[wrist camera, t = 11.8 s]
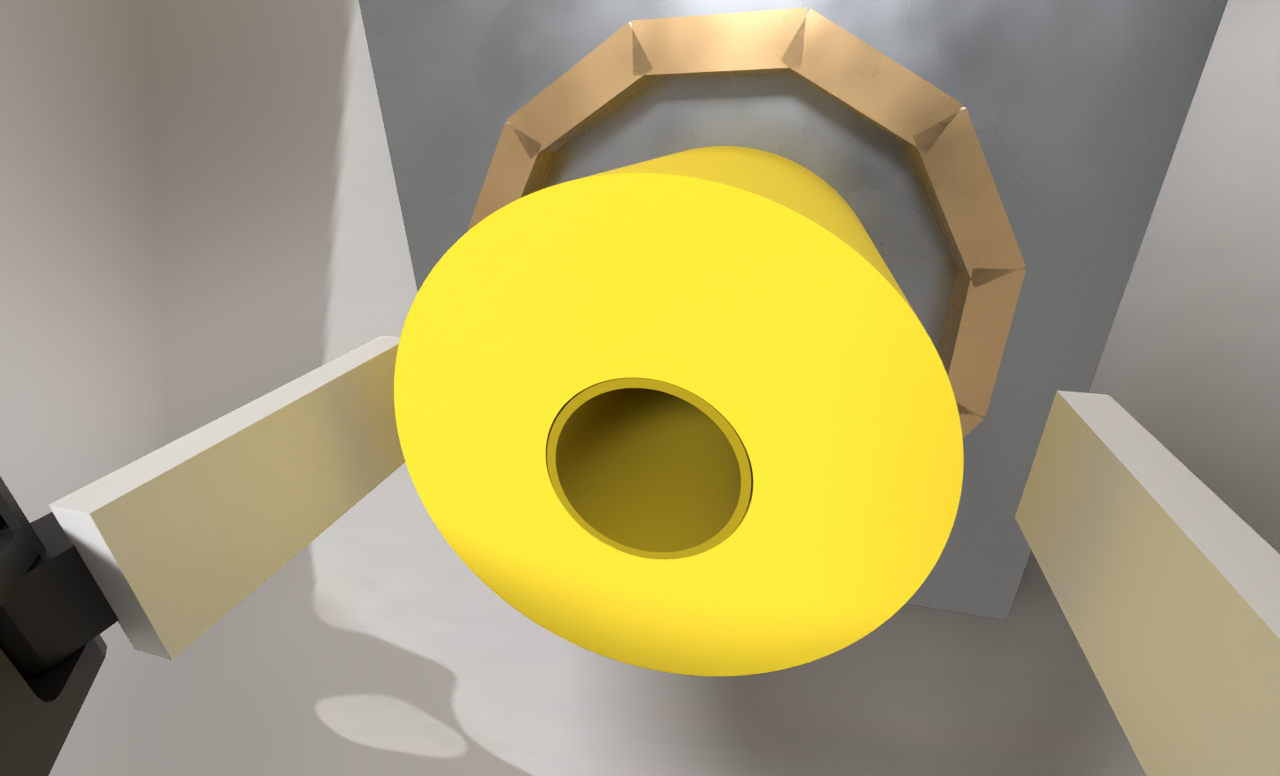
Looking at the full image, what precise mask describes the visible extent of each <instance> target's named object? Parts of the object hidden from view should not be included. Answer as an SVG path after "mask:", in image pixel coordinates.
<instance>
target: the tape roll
mask: <svg viewBox="0 0 1280 776" xmlns="http://www.w3.org/2000/svg"><path fill="white" fill-rule="evenodd" d="M394 406H395V416H396V424H397V430H398V435H399V440H400V444H401V448H402V452H403V455H404V458H405V462H406V465H407V468H408V470H409V473H410V476H411V478H412V481H413V483H414V485H415V488H416V490H417V492H418V494H419V496H420V498H421V500H422V502H423V504H424V506H425V508H426V510H427V511H428V513H429V515H430V516H431V518H432V520H433V521H434V523H435V525H436V526H437V528H438V529H439V531H440V532H441V534H442V535H443V536H444V538H445V539H446V541H447V542H448V543H449V545H450V546H451V547H452V548H453V550H454V551H455V552H456V553H457V555H458V556H459V557H460V558H461V559H462V560H463V562H464V563H465V564H466V565H467V566H468V567H469V568H470V569H471V570H472V571H473V572H474V573H475V574H476V575H477V576H478V577H479V578H480V579H481V580H482V581H483V582H484V583H485V584H486V585H487V586H488V587H489V588H490V589H491V590H493V591H494V592H495V593H496V594H497V595H498V596H500V597H501V598H502V599H503V600H504V601H506V602H507V603H508V604H510V605H511V606H512V607H514V608H515V609H516V610H518V611H519V612H520V613H522V614H523V615H525V616H526V617H528V618H529V619H531V620H532V621H534V622H535V623H537V624H539V625H540V626H542V627H544V628H545V629H547V630H549V631H550V632H552V633H554V634H556V635H558V636H560V637H562V638H564V639H565V640H567V641H570V642H572V643H574V644H576V645H578V646H580V647H583V648H585V649H587V650H590V651H592V652H595V653H597V654H600V655H603V656H605V657H608V658H611V659H614V660H617V661H620V662H624V663H627V664H631V665H635V666H639V667H643V668H647V669H652V670H657V671H662V672H668V673H675V674H684V675H695V676H741V675H752V674H760V673H767V672H773V671H778V670H782V669H787V668H791V667H795V666H798V665H802V664H805V663H808V662H811V661H814V660H817V659H820V658H822V657H825V656H827V655H830V654H832V653H834V652H837V651H839V650H841V649H843V648H845V647H847V646H849V645H851V644H852V643H854V642H856V641H858V640H859V639H861V638H863V637H864V636H866V635H867V634H869V633H870V632H872V631H873V630H875V629H876V628H878V627H879V626H880V625H882V624H883V623H884V622H885V621H887V620H888V619H889V618H890V617H891V616H893V615H894V614H895V613H896V612H897V611H898V610H899V609H900V608H901V607H902V606H903V605H904V604H905V603H906V602H907V601H908V600H909V599H910V598H911V597H912V596H913V595H914V593H915V592H916V591H917V590H918V589H919V587H920V586H921V585H922V583H923V582H924V581H925V579H926V578H927V577H928V575H929V574H930V572H931V571H932V569H933V567H934V566H935V564H936V562H937V561H938V559H939V557H940V555H941V553H942V551H943V549H944V547H945V545H946V542H947V540H948V538H949V535H950V533H951V530H952V527H953V524H954V521H955V517H956V514H957V510H958V506H959V501H960V495H961V489H962V481H963V465H964V455H963V438H962V430H961V423H960V417H959V412H958V408H957V404H956V400H955V396H954V393H953V389H952V387H951V384H950V381H949V378H948V375H947V373H946V370H945V368H944V365H943V363H942V361H941V359H940V357H939V354H938V352H937V350H936V348H935V346H934V345H933V343H932V341H931V339H930V337H929V336H928V334H927V332H926V330H925V329H924V327H923V325H922V324H921V322H920V320H919V319H918V317H917V315H916V314H915V312H914V310H913V309H912V307H911V305H910V304H909V302H908V300H907V299H906V297H905V295H904V294H903V292H902V290H901V289H900V287H899V285H898V284H897V282H896V280H895V279H894V277H893V275H892V274H891V272H890V270H889V269H888V267H887V265H886V264H885V262H884V260H883V259H882V257H881V255H880V254H879V252H878V250H877V249H876V247H875V245H874V244H873V242H872V240H871V239H870V237H869V235H868V233H867V232H866V230H865V228H864V227H863V225H862V223H861V222H860V220H859V219H858V217H857V216H856V214H855V213H854V211H853V210H852V209H851V207H850V206H849V205H848V204H847V202H846V201H845V200H844V199H843V198H842V197H841V196H840V195H839V194H838V193H837V192H836V191H835V190H834V189H833V188H832V187H831V186H830V185H829V184H828V183H826V182H825V181H824V180H823V179H821V178H820V177H819V176H817V175H816V174H814V173H813V172H811V171H810V170H808V169H806V168H805V167H803V166H801V165H799V164H797V163H795V162H793V161H791V160H789V159H787V158H784V157H782V156H779V155H776V154H773V153H770V152H766V151H762V150H758V149H752V148H746V147H737V146H711V147H702V148H696V149H691V150H687V151H683V152H679V153H675V154H671V155H667V156H663V157H660V158H656V159H652V160H648V161H644V162H641V163H637V164H633V165H629V166H625V167H622V168H618V169H614V170H610V171H606V172H602V173H599V174H595V175H591V176H587V177H583V178H580V179H576V180H572V181H568V182H564V183H561V184H557V185H554V186H551V187H547V188H545V189H542V190H539V191H536V192H534V193H531V194H529V195H526V196H524V197H522V198H520V199H518V200H516V201H514V202H512V203H510V204H508V205H506V206H504V207H502V208H501V209H499V210H497V211H495V212H494V213H492V214H491V215H489V216H488V217H486V218H485V219H483V220H482V221H480V222H479V223H478V224H477V225H475V226H474V227H473V228H471V229H470V230H469V231H468V232H467V233H465V234H464V235H463V236H462V237H461V238H460V239H459V240H458V241H457V242H456V243H455V244H454V245H453V246H452V247H451V248H450V249H449V250H448V251H447V252H446V253H445V254H444V255H443V257H442V258H441V259H440V260H439V261H438V263H437V264H436V265H435V267H434V268H433V269H432V271H431V272H430V274H429V275H428V277H427V278H426V280H425V281H424V283H423V285H422V286H421V288H420V290H419V292H418V293H417V295H416V297H415V299H414V301H413V304H412V306H411V308H410V310H409V313H408V315H407V318H406V321H405V324H404V327H403V330H402V334H401V337H400V341H399V346H398V351H397V357H396V364H395V374H394Z"/></svg>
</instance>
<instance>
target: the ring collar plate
mask: <svg viewBox="0 0 1280 776" xmlns="http://www.w3.org/2000/svg"><path fill="white" fill-rule="evenodd" d="M1227 1H1228V0H359V4H360V9H361V14H362V19H363V23H364V28H365V33H366V38H367V43H368V48H369V53H370V58H371V63H372V68H373V73H374V78H375V83H376V88H377V92H378V97H379V102H380V107H381V112H382V117H383V122H384V127H385V132H386V137H387V142H388V147H389V152H390V157H391V162H392V166H393V171H394V176H395V181H396V186H397V191H398V196H399V201H400V206H401V211H402V216H403V221H404V226H405V231H406V235H407V240H408V245H409V250H410V255H411V260H412V265H413V270H414V275H415V280H416V285H417V290H418V292H419V290H420V288H421V286H422V285H423V283H424V281H425V280H426V278H427V277H428V275H429V274H430V272H431V271H432V269H433V268H434V267H435V265H436V264H437V263H438V261H439V260H440V259H441V258H442V257H443V255H444V254H445V253H446V252H447V251H448V250H449V249H450V248H451V247H452V246H453V245H454V244H455V243H456V242H457V241H458V240H459V239H460V238H461V237H462V236H463V235H464V234H465V233H467V232H468V231H469V230H470V229H471V228H473V227H474V226H475V225H477V224H478V223H479V222H480V221H482V220H483V219H485V218H486V217H488V216H489V215H491V214H492V213H494V212H495V211H497V210H499V209H501V208H502V207H504V206H506V205H508V204H510V203H512V202H514V201H516V200H518V199H520V198H522V197H524V196H526V195H529V194H531V193H534V192H536V191H539V190H542V189H545V188H547V187H551V186H554V185H557V184H561V183H564V182H568V181H572V180H576V179H580V178H583V177H587V176H591V175H595V174H599V173H602V172H606V171H610V170H614V169H618V168H622V167H625V166H629V165H633V164H637V163H641V162H644V161H648V160H652V159H656V158H660V157H663V156H667V155H671V154H675V153H679V152H683V151H687V150H691V149H696V148H702V147H711V146H737V147H746V148H752V149H758V150H762V151H766V152H770V153H773V154H776V155H779V156H782V157H784V158H787V159H789V160H791V161H793V162H795V163H797V164H799V165H801V166H803V167H805V168H806V169H808V170H810V171H811V172H813V173H814V174H816V175H817V176H819V177H820V178H821V179H823V180H824V181H825V182H826V183H828V184H829V185H830V186H831V187H832V188H833V189H834V190H835V191H836V192H837V193H838V194H839V195H840V196H841V197H842V198H843V199H844V200H845V201H846V202H847V204H848V205H849V206H850V207H851V209H852V210H853V211H854V213H855V214H856V216H857V217H858V219H859V220H860V222H861V223H862V225H863V227H864V228H865V230H866V232H867V233H868V235H869V237H870V239H871V240H872V242H873V244H874V245H875V247H876V249H877V250H878V252H879V254H880V255H881V257H882V259H883V260H884V262H885V264H886V265H887V267H888V269H889V270H890V272H891V274H892V275H893V277H894V279H895V280H896V282H897V284H898V285H899V287H900V289H901V290H902V292H903V294H904V295H905V297H906V299H907V300H908V302H909V304H910V305H911V307H912V309H913V310H914V312H915V314H916V315H917V317H918V319H919V320H920V322H921V324H922V325H923V327H924V329H925V330H926V332H927V334H928V336H929V337H930V339H931V341H932V343H933V345H934V346H935V348H936V350H937V352H938V354H939V357H940V359H941V361H942V363H943V365H944V368H945V370H946V373H947V375H948V378H949V381H950V384H951V387H952V389H953V393H954V396H955V400H956V404H957V408H958V412H959V417H960V423H961V430H962V438H963V455H964V465H963V481H962V489H961V495H960V501H959V506H958V510H957V514H956V517H955V521H954V524H953V527H952V530H951V533H950V535H949V538H948V540H947V542H946V545H945V547H944V549H943V551H942V553H941V555H940V557H939V559H938V561H937V562H936V564H935V566H934V567H933V569H932V571H931V572H930V574H929V575H928V577H927V578H926V579H925V581H924V582H923V583H922V585H921V586H920V587H919V589H918V590H917V591H916V592H915V593H914V595H913V596H912V597H911V598H910V599H909V600H908V601H907V602H906V603H905V604H909V605H915V606H921V607H927V608H933V609H939V610H946V611H952V612H958V613H964V614H970V615H976V616H982V617H988V618H994V619H1000V620H1006V621H1007V618H1008V615H1009V613H1010V610H1011V607H1012V604H1013V601H1014V599H1015V596H1016V593H1017V590H1018V587H1019V585H1020V582H1021V579H1022V576H1023V573H1024V571H1025V568H1026V565H1027V562H1028V559H1029V556H1030V554H1031V551H1032V550H1031V548H1030V546H1029V544H1028V542H1027V540H1026V538H1025V536H1024V534H1023V532H1022V530H1021V528H1020V526H1019V524H1018V522H1017V521H1016V519H1015V516H1016V513H1017V510H1018V507H1019V504H1020V501H1021V498H1022V495H1023V492H1024V488H1025V485H1026V482H1027V479H1028V476H1029V473H1030V470H1031V467H1032V464H1033V461H1034V458H1035V455H1036V452H1037V449H1038V446H1039V443H1040V440H1041V437H1042V434H1043V431H1044V428H1045V425H1046V422H1047V419H1048V416H1049V413H1050V410H1051V407H1052V404H1053V401H1054V398H1055V395H1056V392H1057V391H1070V392H1082V393H1088V391H1089V388H1090V385H1091V383H1092V380H1093V377H1094V374H1095V371H1096V369H1097V366H1098V363H1099V360H1100V357H1101V355H1102V352H1103V349H1104V346H1105V343H1106V341H1107V338H1108V335H1109V332H1110V329H1111V327H1112V324H1113V321H1114V318H1115V315H1116V313H1117V310H1118V307H1119V304H1120V301H1121V299H1122V296H1123V293H1124V290H1125V287H1126V285H1127V282H1128V279H1129V276H1130V273H1131V271H1132V268H1133V265H1134V262H1135V259H1136V257H1137V254H1138V251H1139V248H1140V245H1141V243H1142V240H1143V237H1144V234H1145V231H1146V228H1147V226H1148V223H1149V220H1150V217H1151V214H1152V212H1153V209H1154V206H1155V203H1156V200H1157V198H1158V195H1159V192H1160V189H1161V186H1162V184H1163V181H1164V178H1165V175H1166V172H1167V170H1168V167H1169V164H1170V161H1171V158H1172V156H1173V153H1174V150H1175V147H1176V144H1177V142H1178V139H1179V136H1180V133H1181V130H1182V128H1183V125H1184V122H1185V119H1186V116H1187V114H1188V111H1189V108H1190V105H1191V102H1192V100H1193V97H1194V94H1195V91H1196V88H1197V86H1198V83H1199V80H1200V77H1201V74H1202V71H1203V69H1204V66H1205V63H1206V60H1207V57H1208V55H1209V52H1210V49H1211V46H1212V43H1213V41H1214V38H1215V35H1216V32H1217V29H1218V27H1219V24H1220V21H1221V18H1222V15H1223V13H1224V10H1225V7H1226V4H1227Z"/></svg>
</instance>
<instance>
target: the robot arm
mask: <svg viewBox="0 0 1280 776" xmlns="http://www.w3.org/2000/svg"><path fill="white" fill-rule="evenodd" d="M399 341H400V337H391V336H380V337H378V338H376V339H374V340H372V341H370V342H368V343H366V344H364V345H362V346H360V347H358V348H356V349H354V350H352V351H350V352H348V353H346V354H345V355H343V356H341V357H339V358H337V359H335V360H333V361H331V362H329V363H327V364H325V365H323V366H321V367H319V368H317V369H315V370H313V371H311V372H309V373H307V374H305V375H303V376H301V377H299V378H298V379H295V380H293V381H291V382H289V383H287V384H286V385H284V386H282V387H280V388H278V389H276V390H274V391H272V392H270V393H268V394H266V395H264V396H262V397H260V398H258V399H256V400H254V401H252V402H250V403H248V404H246V405H244V406H242V407H241V408H238V409H236V410H234V411H233V412H230V413H228V414H226V415H225V416H223V417H221V418H219V419H217V420H215V421H213V422H211V423H209V424H207V425H205V426H203V427H201V428H199V429H197V430H195V431H193V432H191V433H189V434H187V435H185V436H183V437H181V438H179V439H177V440H175V441H173V442H171V443H169V444H167V445H166V446H164V447H162V448H160V449H158V450H156V451H154V452H152V453H150V454H148V455H146V456H144V457H142V458H140V459H138V460H136V461H134V462H132V463H130V464H128V465H126V466H124V467H122V468H120V469H118V470H116V471H114V472H112V473H110V474H109V475H107V476H105V477H103V478H101V479H99V480H97V481H95V482H93V483H91V484H89V485H87V486H85V487H83V488H81V489H79V490H77V491H75V492H73V493H71V494H69V495H67V496H65V497H63V498H61V499H59V500H58V501H55V502H54V503H52V504H49V507H50V508H51V510H52V512H51V513H49V514H47V515H46V516H44V517H42V518H40V519H38V520H35V521H34V522H31V523H29V521H28V520H27V518H26V517H25V515H24V513H23V512H22V510H21V509H20V507H19V505H18V504H17V502H16V501H15V499H14V498H13V496H12V494H11V493H10V491H9V490H8V488H7V486H6V485H5V483H4V482H3V480H2V478H1V477H0V776H48V775H49V773H50V771H51V769H52V767H53V765H54V763H55V761H56V759H57V756H58V754H59V752H60V750H61V748H62V746H63V744H64V742H65V740H66V738H67V736H68V733H69V731H70V729H71V727H72V725H73V723H74V721H75V719H76V717H77V714H78V713H79V711H80V709H81V706H82V704H83V702H84V700H85V698H86V696H87V694H88V692H89V690H90V688H91V686H92V683H93V681H94V679H95V677H96V675H97V673H98V671H99V669H100V666H101V665H102V663H103V661H104V658H105V655H106V649H107V646H106V644H105V642H104V641H103V639H102V637H101V636H100V633H102V632H103V631H104V630H106V629H107V628H109V627H110V626H111V625H112V624H114V623H115V622H117V621H118V622H119V624H120V625H121V627H122V629H123V630H124V632H125V634H126V635H127V637H128V638H129V640H130V642H131V644H132V645H133V647H134V649H136V650H139V651H143V652H146V653H150V654H153V655H157V656H160V657H164V658H167V659H171V660H172V659H174V658H175V657H176V656H177V655H178V654H180V653H181V652H182V651H183V650H184V649H185V648H187V647H188V646H189V645H190V644H191V643H193V642H194V641H195V640H196V639H197V638H198V637H199V636H201V635H202V634H203V633H204V632H205V631H207V630H208V629H209V628H210V627H211V626H213V625H214V624H215V623H216V622H217V621H218V620H219V619H221V618H222V617H223V616H224V615H225V614H227V613H228V612H229V611H230V610H231V609H233V608H234V607H235V606H236V605H237V604H238V603H240V602H241V601H242V600H243V599H244V598H245V597H247V596H248V595H249V594H250V593H251V592H253V591H254V590H255V589H256V588H257V587H258V586H260V585H261V584H262V583H263V582H264V581H266V580H267V579H268V578H269V577H270V576H271V575H273V574H274V573H275V572H276V571H277V570H278V569H280V568H281V567H282V566H283V565H284V564H285V563H287V562H288V561H289V560H290V559H291V558H293V557H294V556H295V555H296V554H297V553H298V552H300V551H301V550H302V549H303V548H304V547H306V546H307V545H308V544H309V543H310V542H311V541H313V540H314V539H315V538H316V537H317V536H319V535H320V534H321V533H322V532H323V531H324V530H326V529H327V528H328V527H329V526H330V525H332V524H333V523H334V522H335V521H336V520H337V519H339V518H340V517H341V516H342V515H343V514H344V513H346V512H347V511H348V510H349V509H350V508H352V507H353V506H354V505H355V504H356V503H357V502H359V501H360V500H361V499H362V498H363V497H365V496H366V495H367V494H368V493H369V492H370V491H372V490H373V489H374V488H375V487H376V486H377V485H379V484H380V483H381V482H382V481H383V480H385V479H386V478H387V477H388V476H389V475H390V474H392V473H393V472H394V471H395V470H396V469H398V468H399V467H400V466H401V465H402V464H403V463H405V458H404V455H403V452H402V448H401V444H400V440H399V435H398V430H397V424H396V416H395V406H394V374H395V364H396V357H397V351H398V346H399ZM1015 519H1016V521H1017V522H1018V524H1019V526H1020V528H1021V530H1022V532H1023V534H1024V536H1025V538H1026V540H1027V542H1028V544H1029V546H1030V548H1031V550H1032V552H1033V554H1034V556H1035V558H1036V560H1037V562H1038V564H1039V566H1040V568H1041V570H1042V572H1043V574H1044V576H1045V578H1046V580H1047V582H1048V583H1049V585H1050V587H1051V589H1052V591H1053V593H1054V595H1055V597H1056V599H1057V601H1058V603H1059V605H1060V607H1061V609H1062V611H1063V613H1064V615H1065V617H1066V619H1067V621H1068V623H1069V625H1070V627H1071V629H1072V631H1073V633H1074V635H1075V637H1076V639H1077V641H1078V643H1079V645H1080V646H1081V648H1082V650H1083V652H1084V654H1085V656H1086V658H1087V660H1088V662H1089V664H1090V666H1091V668H1092V670H1093V672H1094V674H1095V676H1096V678H1097V680H1098V682H1099V684H1100V686H1101V688H1102V690H1103V692H1104V694H1105V696H1106V698H1107V700H1108V702H1109V704H1110V706H1111V707H1112V709H1113V711H1114V713H1115V715H1116V717H1117V719H1118V721H1119V723H1120V725H1121V727H1122V729H1123V731H1124V733H1125V735H1126V737H1127V739H1128V741H1129V743H1130V745H1131V747H1132V749H1133V751H1134V753H1135V755H1136V757H1137V759H1138V761H1139V763H1140V765H1141V767H1142V768H1143V770H1144V772H1145V774H1146V776H1280V554H1279V553H1278V552H1277V551H1276V550H1274V549H1273V548H1272V547H1271V546H1270V545H1269V544H1268V543H1267V542H1266V541H1265V540H1264V539H1263V538H1262V537H1261V536H1259V535H1258V534H1257V533H1256V532H1255V531H1254V530H1253V529H1252V528H1251V527H1250V526H1249V525H1248V524H1247V523H1246V522H1244V521H1243V520H1242V519H1241V518H1240V517H1239V516H1238V515H1237V514H1236V513H1235V512H1234V511H1233V510H1232V509H1231V508H1229V507H1228V506H1227V505H1226V504H1225V503H1224V502H1223V501H1222V500H1221V499H1220V498H1219V497H1218V496H1217V495H1216V494H1214V493H1213V492H1212V491H1211V490H1210V489H1209V488H1208V487H1207V486H1206V485H1205V484H1204V483H1203V482H1202V481H1201V480H1199V479H1198V478H1197V477H1196V476H1195V475H1194V474H1193V473H1192V472H1191V471H1190V470H1189V469H1188V468H1187V467H1186V466H1185V465H1183V464H1182V463H1181V462H1180V461H1179V460H1178V459H1177V458H1176V457H1175V456H1174V455H1173V454H1172V453H1171V452H1170V451H1168V450H1167V449H1166V448H1165V447H1164V446H1163V445H1162V444H1161V443H1160V442H1159V441H1158V440H1157V439H1156V438H1155V437H1153V436H1152V435H1151V434H1150V433H1149V432H1148V431H1147V430H1146V429H1145V428H1144V427H1143V426H1142V425H1141V424H1140V423H1138V422H1137V421H1136V420H1135V419H1134V418H1133V417H1132V416H1131V415H1130V414H1129V413H1128V412H1127V411H1126V410H1125V409H1123V408H1122V407H1121V406H1120V405H1119V404H1118V403H1117V402H1116V401H1115V400H1114V399H1113V398H1112V397H1111V396H1110V395H1107V394H1094V393H1082V392H1070V391H1057V392H1056V395H1055V398H1054V401H1053V404H1052V407H1051V410H1050V413H1049V416H1048V419H1047V422H1046V425H1045V428H1044V431H1043V434H1042V437H1041V440H1040V443H1039V446H1038V449H1037V452H1036V455H1035V458H1034V461H1033V464H1032V467H1031V470H1030V473H1029V476H1028V479H1027V482H1026V485H1025V488H1024V492H1023V495H1022V498H1021V501H1020V504H1019V507H1018V510H1017V513H1016V516H1015Z"/></svg>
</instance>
